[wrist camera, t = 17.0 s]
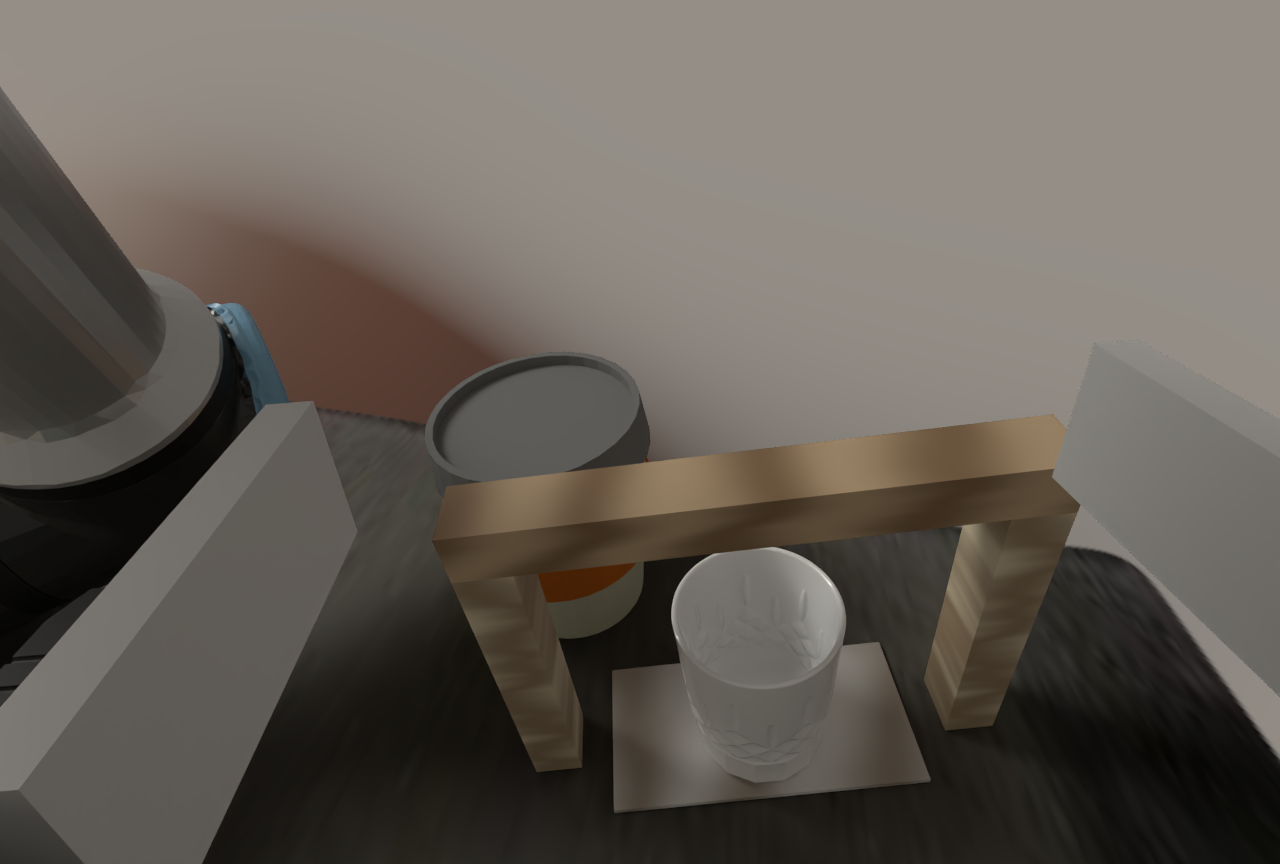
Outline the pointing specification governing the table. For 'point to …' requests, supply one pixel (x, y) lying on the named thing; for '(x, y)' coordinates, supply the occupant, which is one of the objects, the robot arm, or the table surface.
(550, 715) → the bridge
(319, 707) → the table surface
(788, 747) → the white cup
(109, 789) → the robot arm
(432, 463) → the reusable coffee cup
